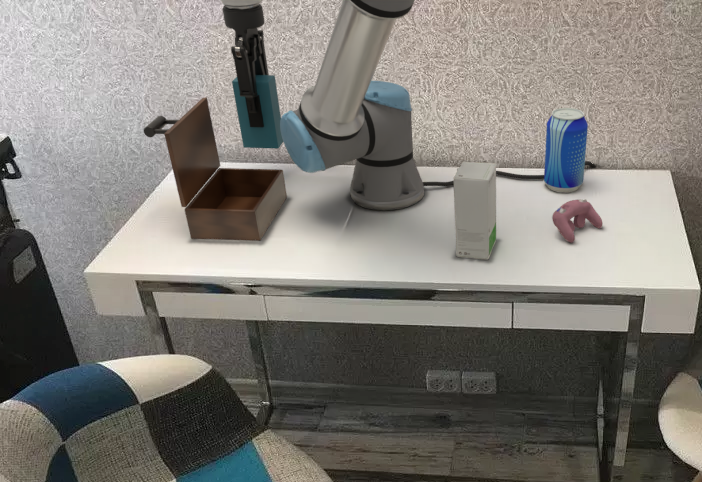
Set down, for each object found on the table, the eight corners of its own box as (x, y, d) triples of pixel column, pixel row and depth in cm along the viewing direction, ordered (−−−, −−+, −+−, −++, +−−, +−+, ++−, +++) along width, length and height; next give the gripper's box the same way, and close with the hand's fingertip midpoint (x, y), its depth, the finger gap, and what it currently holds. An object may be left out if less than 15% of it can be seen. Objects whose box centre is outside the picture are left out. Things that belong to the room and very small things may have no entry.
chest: (287, 199, 164) (282, 169, 160) (260, 243, 148) (254, 211, 144) (225, 197, 164) (219, 167, 161) (191, 241, 149) (184, 209, 145)
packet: (284, 140, 170) (274, 75, 162) (278, 148, 166) (268, 82, 158) (250, 139, 170) (238, 74, 162) (243, 147, 167) (231, 81, 158)
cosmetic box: (488, 261, 143) (489, 181, 134) (452, 257, 144) (451, 177, 135) (497, 239, 150) (498, 162, 141) (463, 236, 151) (462, 159, 142)
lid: (206, 97, 152) (167, 96, 153) (168, 133, 137) (124, 132, 137) (220, 165, 160) (183, 164, 161) (185, 207, 145) (144, 206, 145)
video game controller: (588, 229, 157) (578, 195, 155) (606, 226, 153) (596, 191, 151) (556, 245, 151) (545, 210, 149) (573, 243, 147) (562, 207, 146)
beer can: (556, 174, 174) (561, 103, 165) (590, 184, 170) (596, 111, 161) (536, 187, 169) (539, 114, 160) (570, 197, 165) (575, 123, 156)
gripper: (237, -6, 159) (255, 107, 173) (207, 15, 145) (229, 137, 158) (273, -6, 159) (289, 108, 172) (247, 16, 145) (266, 138, 158)
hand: (260, 121), depth 165 cm, fingers closed on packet, 5 cm apart
